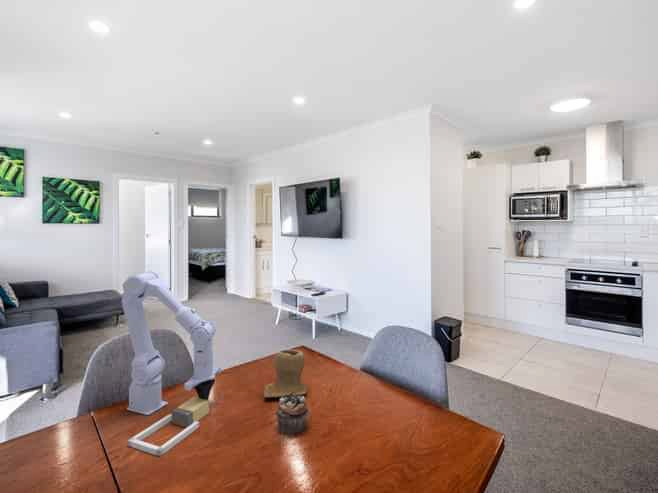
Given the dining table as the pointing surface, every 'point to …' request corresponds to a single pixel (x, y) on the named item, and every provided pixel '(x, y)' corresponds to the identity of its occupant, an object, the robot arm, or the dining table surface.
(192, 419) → the block
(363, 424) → the dining table surface
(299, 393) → the stone cup
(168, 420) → the end holder
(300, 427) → the cupcake
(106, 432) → the dining table surface
